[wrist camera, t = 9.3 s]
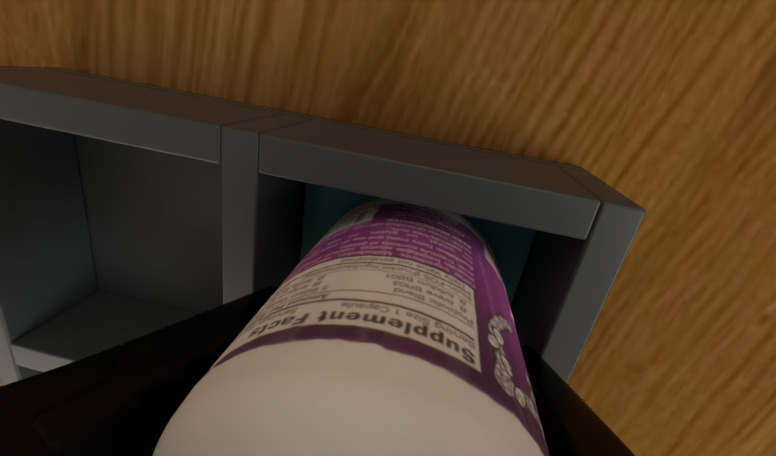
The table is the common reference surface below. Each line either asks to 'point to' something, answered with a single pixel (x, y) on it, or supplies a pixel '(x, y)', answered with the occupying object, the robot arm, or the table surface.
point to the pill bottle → (373, 352)
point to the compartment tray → (254, 213)
